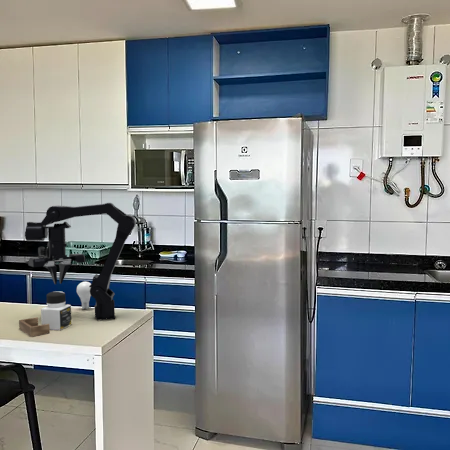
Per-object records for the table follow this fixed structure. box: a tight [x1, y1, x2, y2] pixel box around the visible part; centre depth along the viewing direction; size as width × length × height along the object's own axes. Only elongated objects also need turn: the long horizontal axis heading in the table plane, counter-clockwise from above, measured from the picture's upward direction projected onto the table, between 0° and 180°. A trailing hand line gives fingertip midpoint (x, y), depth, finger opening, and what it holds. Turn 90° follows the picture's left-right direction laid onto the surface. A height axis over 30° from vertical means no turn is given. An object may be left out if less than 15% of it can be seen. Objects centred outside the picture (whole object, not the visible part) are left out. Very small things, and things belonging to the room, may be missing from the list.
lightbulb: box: [76, 281, 92, 310], centre depth 186 cm, size 6×6×11 cm
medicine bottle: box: [40, 290, 72, 331], centre depth 162 cm, size 7×7×12 cm
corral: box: [18, 316, 51, 338], centre depth 157 cm, size 6×12×3 cm, turn 40°
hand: (58, 283), depth 171 cm, fingers closed
